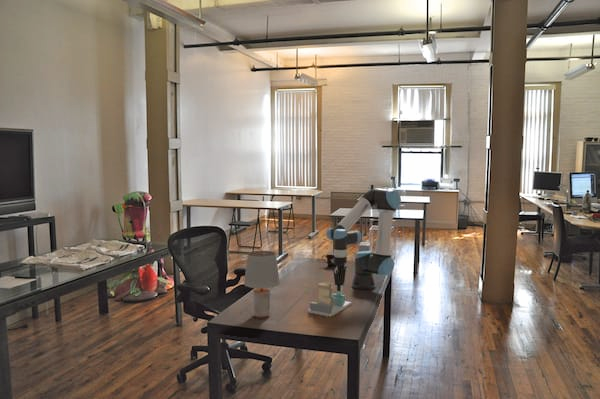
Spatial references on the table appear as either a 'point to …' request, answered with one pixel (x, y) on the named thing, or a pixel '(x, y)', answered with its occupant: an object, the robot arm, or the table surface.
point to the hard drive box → (364, 246)
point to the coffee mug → (330, 259)
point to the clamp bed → (334, 310)
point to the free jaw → (338, 299)
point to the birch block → (326, 293)
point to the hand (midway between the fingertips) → (339, 296)
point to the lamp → (261, 279)
